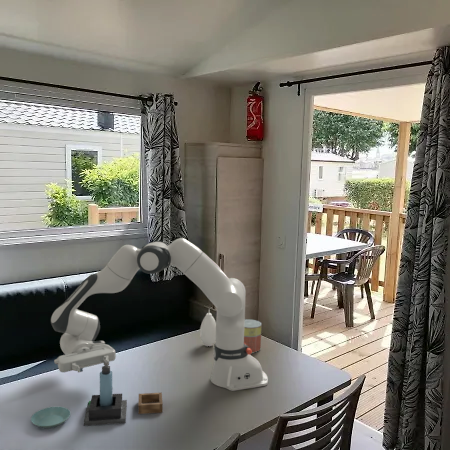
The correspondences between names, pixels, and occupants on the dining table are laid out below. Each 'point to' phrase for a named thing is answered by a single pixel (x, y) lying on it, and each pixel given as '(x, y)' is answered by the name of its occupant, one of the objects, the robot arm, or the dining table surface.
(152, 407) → the wooden square frame
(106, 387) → the blue bottle
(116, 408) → the port
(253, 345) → the canned food
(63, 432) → the dining table surface
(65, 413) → the saucer
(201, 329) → the sauce bottle
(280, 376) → the dining table surface
